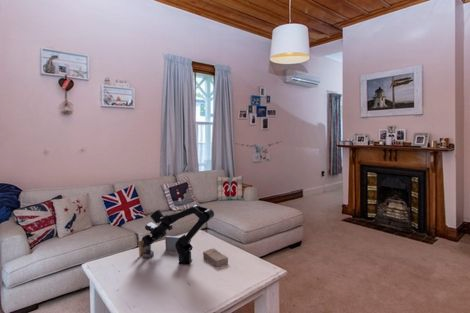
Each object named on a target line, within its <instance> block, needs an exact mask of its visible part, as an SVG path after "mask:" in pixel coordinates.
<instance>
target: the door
mask: <svg viewBox="0 0 470 313" xmlns="http://www.w3.org/2000/svg"><path fill="white" fill-rule="evenodd" d="M147 235H149V236H150V237H151V233H148V234H147ZM143 243H144V241H143V240H142V238H140V239H139V240H138V255H139V256H140V257H142V256H143V253H144V252H146V247H142V245H143Z"/></svg>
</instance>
